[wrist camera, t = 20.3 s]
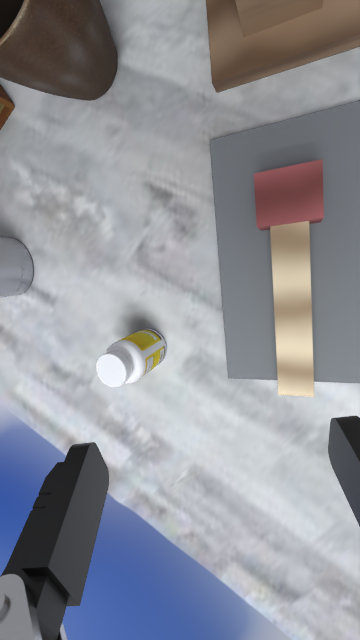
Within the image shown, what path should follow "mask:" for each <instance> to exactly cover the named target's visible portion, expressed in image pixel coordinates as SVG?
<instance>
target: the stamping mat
mask: <svg viewBox="0 0 360 640" xmlns="http://www.w3.org/2000/svg"><path fill="white" fill-rule="evenodd" d="M210 152H211V165H212V178H213V191H214V204H215V216H216V229H217V242H218V255H219V268H220V280H221V293H222V306H223V319H224V331H225V344H226V357H227V370H228V378H235V379H261V380H278V375H277V354H276V334H275V314H274V294H273V273H272V253H271V233H270V230H263V231H261V230H260V229H258V228H257V222H256V205H255V187H254V173H259V172H264V171H269V170H273V169H278V168H283V167H288V166H292V165H297V164H302V163H307V162H311V161H316V160H321V159H323V201H324V218H323V219H322V221H321V222H320V223H313V224H309V233H310V268H311V303H312V337H313V372H314V382H340V383H360V100H359V101H356V102H352V103H348V104H344V105H340V106H337V107H333V108H329V109H325V110H322V111H318V112H314V113H310V114H307V115H303V116H299V117H295V118H292V119H288V120H284V121H280V122H277V123H273V124H269V125H265V126H261V127H258V128H254V129H250V130H246V131H243V132H239V133H235V134H231V135H228V136H224V137H220V138H216V139H213V140H210Z"/></svg>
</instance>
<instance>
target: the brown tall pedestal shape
mask: <svg viewBox="0 0 360 640" xmlns="http://www.w3.org/2000/svg"><path fill="white" fill-rule="evenodd" d="M206 7H207V20H208V33H209V47H210V60H211V73H212V84H213V86H214V88H215V90H216V92H220V91H224V90H227V89H230V88H233V87H236V86H239V85H242V84H245V83H248V82H251V81H254V80H257V79H261V78H264V77H267V76H270V75H273V74H276V73H279V72H282V71H285V70H288V69H291V68H295V67H298V66H301V65H304V64H307V63H310V62H313V61H316V60H319V59H322V58H325V57H329V56H332V55H335V54H338V53H341V52H344V51H347V50H350V49H353V48H356V47H359V46H360V0H206Z"/></svg>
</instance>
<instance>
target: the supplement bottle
mask: <svg viewBox="0 0 360 640" xmlns="http://www.w3.org/2000/svg"><path fill="white" fill-rule="evenodd" d="M165 355H166V343H165V341H164V339H163V337H162V336H161V335H160V334H159V333H158V332H156V331H155V330H152V329H143V330H140V331H138V332H135V333H133V334H131V335H129V336H127V337H125V338H123V339H121V340H119V341H117V342H115V343H113V344H112V345H111V346H110V347H109V348H108V350H107V352H106V353H105V354H103V355H102V356H101V357H100V358H99V359H98V361H97V364H96V370H97V374H98V377H99V378H100V380H101V381H102V382H103V383H104V384H106V385H107V386H110V387H118V386H120V385H122V384H123V383H133V382H135V381H137V380H139V379H140V378H141V377H143V376H144V375H145V374H146V373H148V372H149V371H150V370H152V369H153V368H154V367H155V366H157V365H158V364H159V363H160V362H161V361H162V360H163V359H164V357H165Z"/></svg>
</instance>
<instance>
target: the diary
mask: <svg viewBox="0 0 360 640" xmlns="http://www.w3.org/2000/svg"><path fill="white" fill-rule="evenodd" d="M13 109H14V105H13V103H12V101H11V100H10V98H9V97H8V95H7V94H6V93H5V91H4V90H3V88H2V87H1V85H0V130H1V128H2V127H3V125H4V123H5V122H6V120H7V119H8V117H9V116H10V114H11V112H12V111H13Z"/></svg>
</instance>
